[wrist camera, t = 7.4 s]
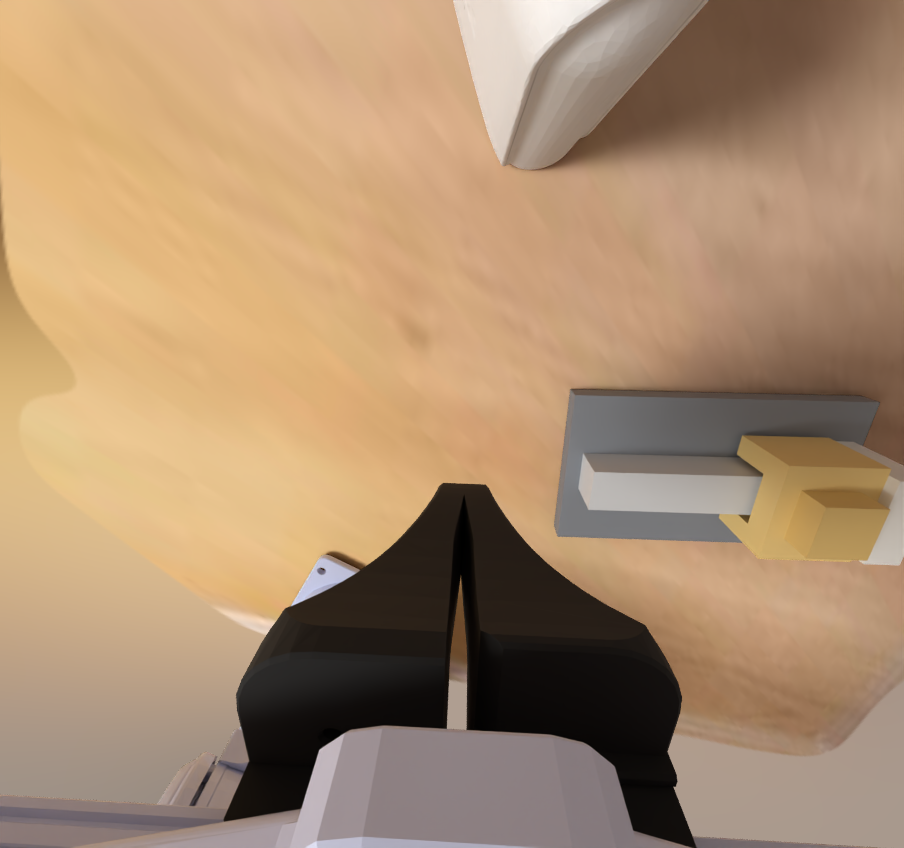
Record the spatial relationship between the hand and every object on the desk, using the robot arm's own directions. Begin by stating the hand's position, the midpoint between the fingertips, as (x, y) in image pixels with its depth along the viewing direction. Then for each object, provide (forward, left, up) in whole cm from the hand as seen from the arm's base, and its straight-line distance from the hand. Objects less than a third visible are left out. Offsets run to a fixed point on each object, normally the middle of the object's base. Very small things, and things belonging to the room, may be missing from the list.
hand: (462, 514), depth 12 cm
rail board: (+3, -12, -10) cm, 16 cm away
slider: (+5, -15, -9) cm, 18 cm away
